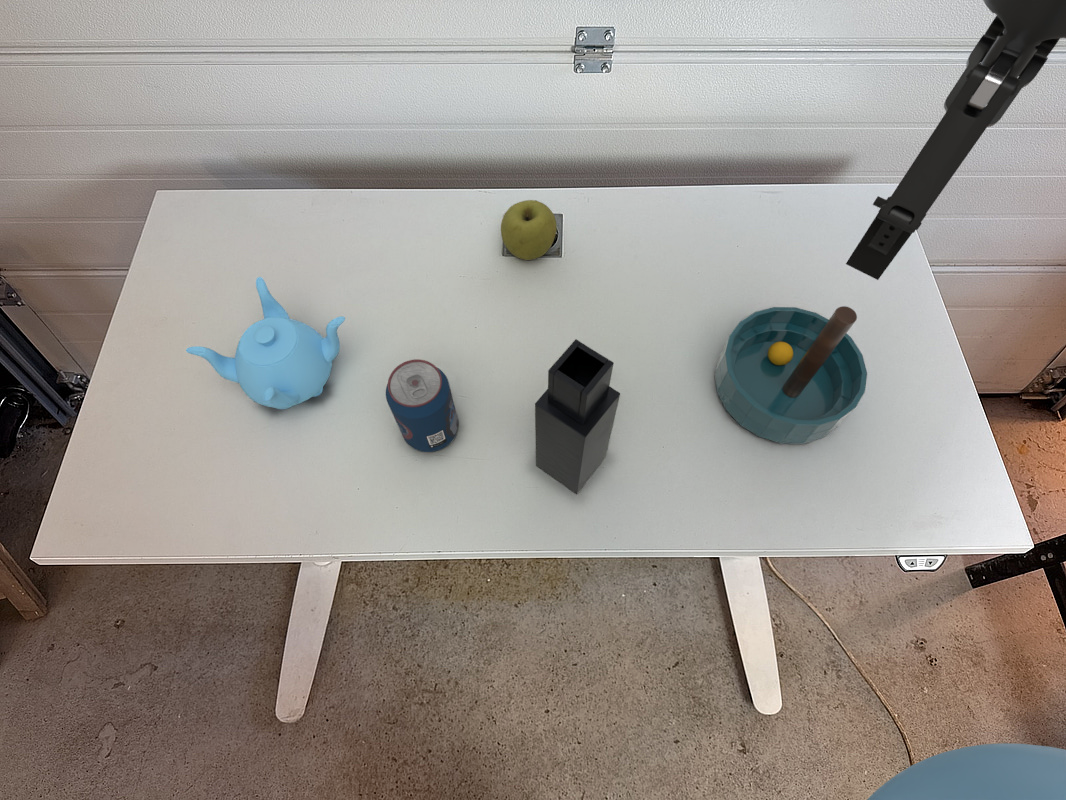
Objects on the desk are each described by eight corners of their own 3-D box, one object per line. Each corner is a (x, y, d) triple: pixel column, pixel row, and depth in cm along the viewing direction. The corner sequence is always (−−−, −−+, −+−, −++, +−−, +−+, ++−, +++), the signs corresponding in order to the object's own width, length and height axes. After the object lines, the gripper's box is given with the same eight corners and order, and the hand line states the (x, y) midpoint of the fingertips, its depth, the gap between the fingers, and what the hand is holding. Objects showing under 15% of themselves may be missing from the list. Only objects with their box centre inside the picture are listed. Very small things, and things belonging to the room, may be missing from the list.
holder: (576, 494, 74) (589, 408, 54) (535, 465, 75) (533, 372, 56) (605, 456, 76) (628, 360, 56) (565, 429, 78) (573, 327, 58)
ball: (784, 373, 79) (762, 362, 80) (785, 362, 82) (763, 351, 82) (797, 355, 77) (775, 344, 78) (798, 344, 80) (776, 333, 80)
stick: (791, 400, 78) (846, 327, 64) (778, 387, 79) (830, 312, 65) (804, 392, 79) (861, 317, 65) (792, 379, 80) (846, 302, 66)
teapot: (222, 391, 81) (182, 349, 72) (291, 318, 86) (262, 270, 77) (298, 439, 77) (266, 401, 68) (366, 360, 83) (345, 315, 74)
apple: (491, 256, 91) (488, 220, 84) (523, 220, 94) (521, 183, 87) (536, 279, 89) (535, 244, 82) (566, 242, 92) (568, 205, 85)
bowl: (809, 471, 75) (829, 451, 69) (689, 398, 79) (700, 374, 74) (866, 376, 81) (889, 351, 75) (752, 313, 85) (766, 285, 80)
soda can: (395, 417, 79) (373, 368, 68) (448, 397, 80) (434, 345, 69) (414, 465, 76) (393, 420, 65) (468, 443, 77) (456, 396, 66)
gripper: (1086, -172, 40) (911, 119, 59) (939, 16, 31) (787, 291, 49) (1219, -139, 38) (993, 153, 56) (1104, 75, 28) (879, 340, 47)
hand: (897, 218), depth 53 cm, fingers open, 13 cm apart
